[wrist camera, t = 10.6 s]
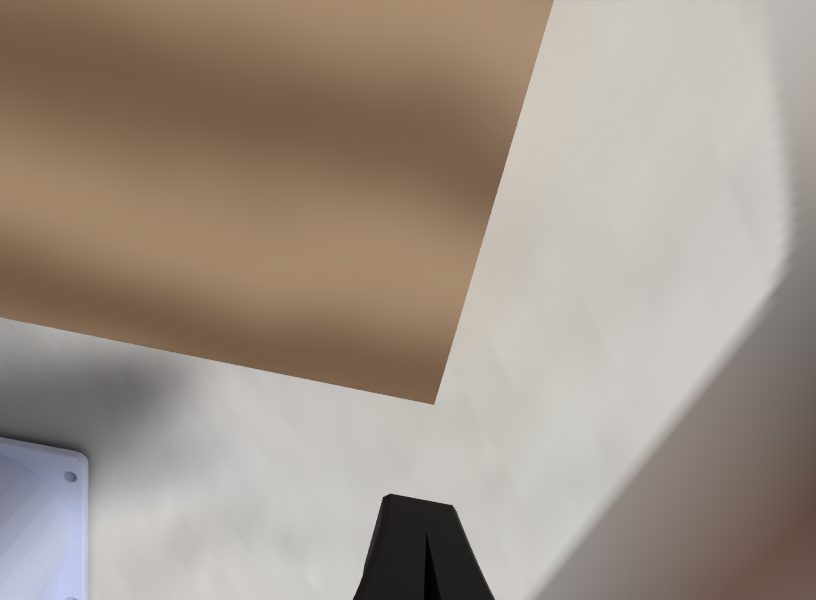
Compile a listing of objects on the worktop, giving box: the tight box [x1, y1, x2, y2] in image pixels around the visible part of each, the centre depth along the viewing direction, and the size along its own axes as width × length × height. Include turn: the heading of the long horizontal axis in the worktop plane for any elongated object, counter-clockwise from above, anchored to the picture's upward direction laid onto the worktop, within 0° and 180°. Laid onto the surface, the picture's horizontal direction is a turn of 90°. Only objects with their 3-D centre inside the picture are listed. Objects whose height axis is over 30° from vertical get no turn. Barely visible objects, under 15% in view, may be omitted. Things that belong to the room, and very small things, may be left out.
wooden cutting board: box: [0, 0, 554, 405], centre depth 15 cm, size 14×14×3 cm
